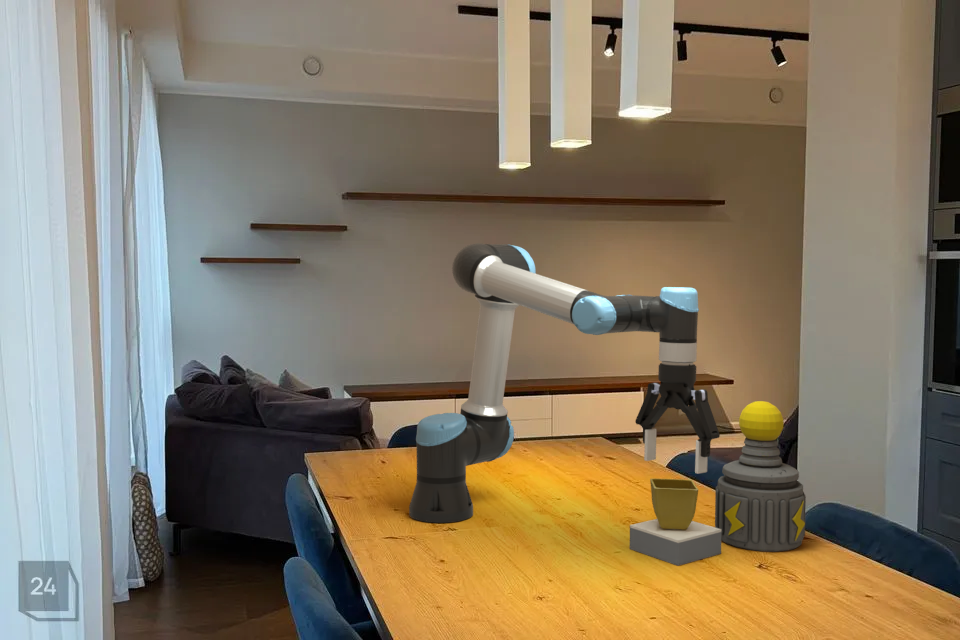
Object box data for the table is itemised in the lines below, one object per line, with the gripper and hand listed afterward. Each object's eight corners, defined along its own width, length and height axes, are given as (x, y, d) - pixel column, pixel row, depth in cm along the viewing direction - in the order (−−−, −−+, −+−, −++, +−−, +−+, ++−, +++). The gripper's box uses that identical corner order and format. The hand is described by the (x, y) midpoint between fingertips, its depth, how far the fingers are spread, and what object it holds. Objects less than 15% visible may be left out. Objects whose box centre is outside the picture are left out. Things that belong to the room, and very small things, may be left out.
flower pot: (691, 521, 181) (692, 479, 181) (698, 533, 173) (698, 489, 172) (649, 520, 182) (649, 478, 182) (653, 532, 174) (654, 487, 173)
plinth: (678, 565, 168) (678, 540, 168) (629, 548, 179) (629, 525, 179) (721, 553, 176) (721, 529, 176) (672, 538, 186) (672, 515, 186)
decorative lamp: (695, 537, 187) (698, 400, 185) (745, 522, 199) (747, 393, 198) (774, 559, 172) (777, 410, 171) (822, 541, 184) (825, 402, 183)
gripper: (739, 367, 168) (736, 475, 169) (645, 356, 188) (642, 453, 189) (714, 370, 163) (711, 480, 165) (620, 358, 183) (618, 456, 185)
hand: (674, 466), depth 177 cm, fingers open, 13 cm apart
